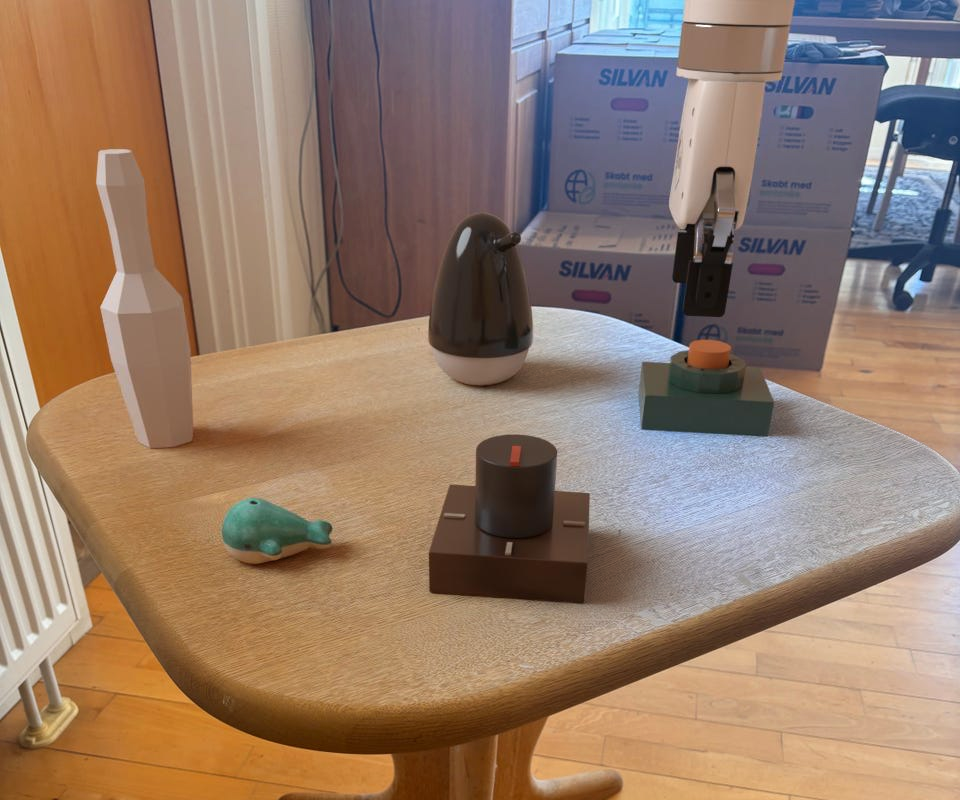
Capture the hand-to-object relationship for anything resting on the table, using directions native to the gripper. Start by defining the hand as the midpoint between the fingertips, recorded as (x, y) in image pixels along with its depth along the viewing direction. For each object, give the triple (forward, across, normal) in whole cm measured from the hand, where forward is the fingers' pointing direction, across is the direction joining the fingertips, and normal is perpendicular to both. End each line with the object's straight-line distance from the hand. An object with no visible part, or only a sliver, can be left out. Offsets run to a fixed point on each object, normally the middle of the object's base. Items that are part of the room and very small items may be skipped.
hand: (696, 298), depth 79 cm
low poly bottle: (+12, +7, -44) cm, 46 cm away
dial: (+8, +25, -13) cm, 29 cm away
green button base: (+11, -4, +2) cm, 12 cm away
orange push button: (+7, -4, +2) cm, 8 cm away
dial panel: (+12, +25, -13) cm, 30 cm away
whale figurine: (+12, +25, -29) cm, 40 cm away
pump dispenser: (+12, -12, -18) cm, 25 cm away
